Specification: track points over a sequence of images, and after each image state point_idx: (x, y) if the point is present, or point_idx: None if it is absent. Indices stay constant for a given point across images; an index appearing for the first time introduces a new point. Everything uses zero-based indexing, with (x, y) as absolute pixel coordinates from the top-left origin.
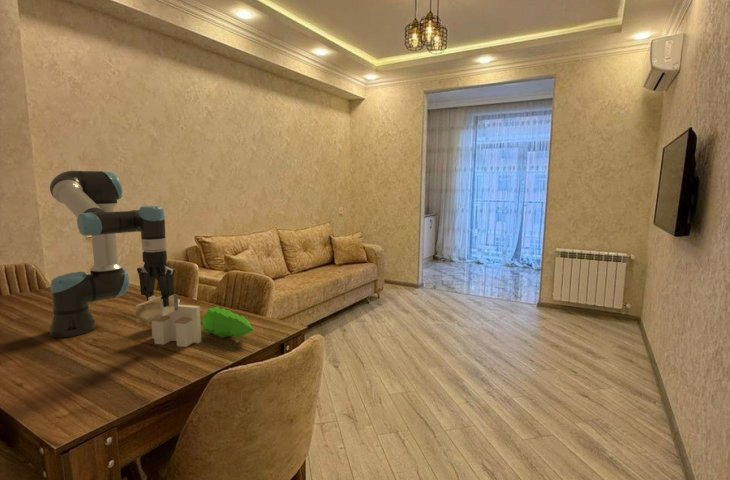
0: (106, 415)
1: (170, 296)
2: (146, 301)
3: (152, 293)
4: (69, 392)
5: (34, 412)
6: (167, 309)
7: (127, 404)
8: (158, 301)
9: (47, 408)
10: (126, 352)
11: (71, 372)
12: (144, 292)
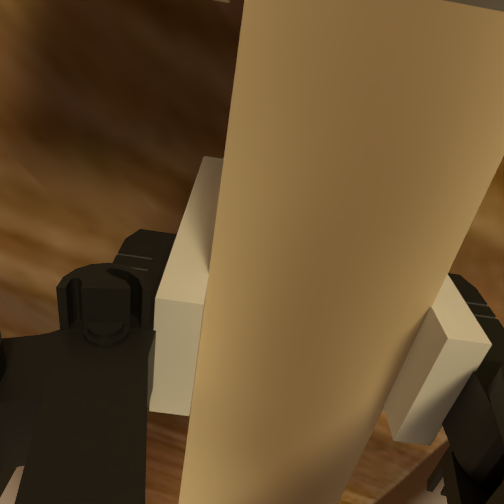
0: (341, 496)
1: (495, 138)
2: (190, 439)
3: (147, 374)
4: (153, 430)
5: (152, 492)
6: None
7: (368, 466)
8: (372, 426)
9: (168, 481)
10: (81, 139)
11: (24, 335)
12: (5, 470)
